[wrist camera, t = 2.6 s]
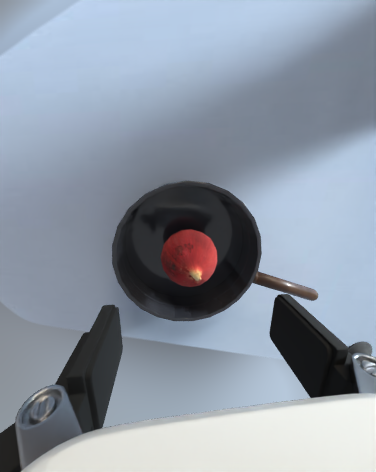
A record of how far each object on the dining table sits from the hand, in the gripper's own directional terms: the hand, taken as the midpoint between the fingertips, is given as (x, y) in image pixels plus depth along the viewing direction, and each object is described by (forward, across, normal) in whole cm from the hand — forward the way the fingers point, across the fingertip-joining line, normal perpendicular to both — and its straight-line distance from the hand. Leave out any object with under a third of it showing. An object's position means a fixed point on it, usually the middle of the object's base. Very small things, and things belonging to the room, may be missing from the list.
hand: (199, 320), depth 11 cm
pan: (+13, 0, 0) cm, 13 cm away
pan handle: (+10, -12, +4) cm, 16 cm away
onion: (+13, 0, 0) cm, 13 cm away
